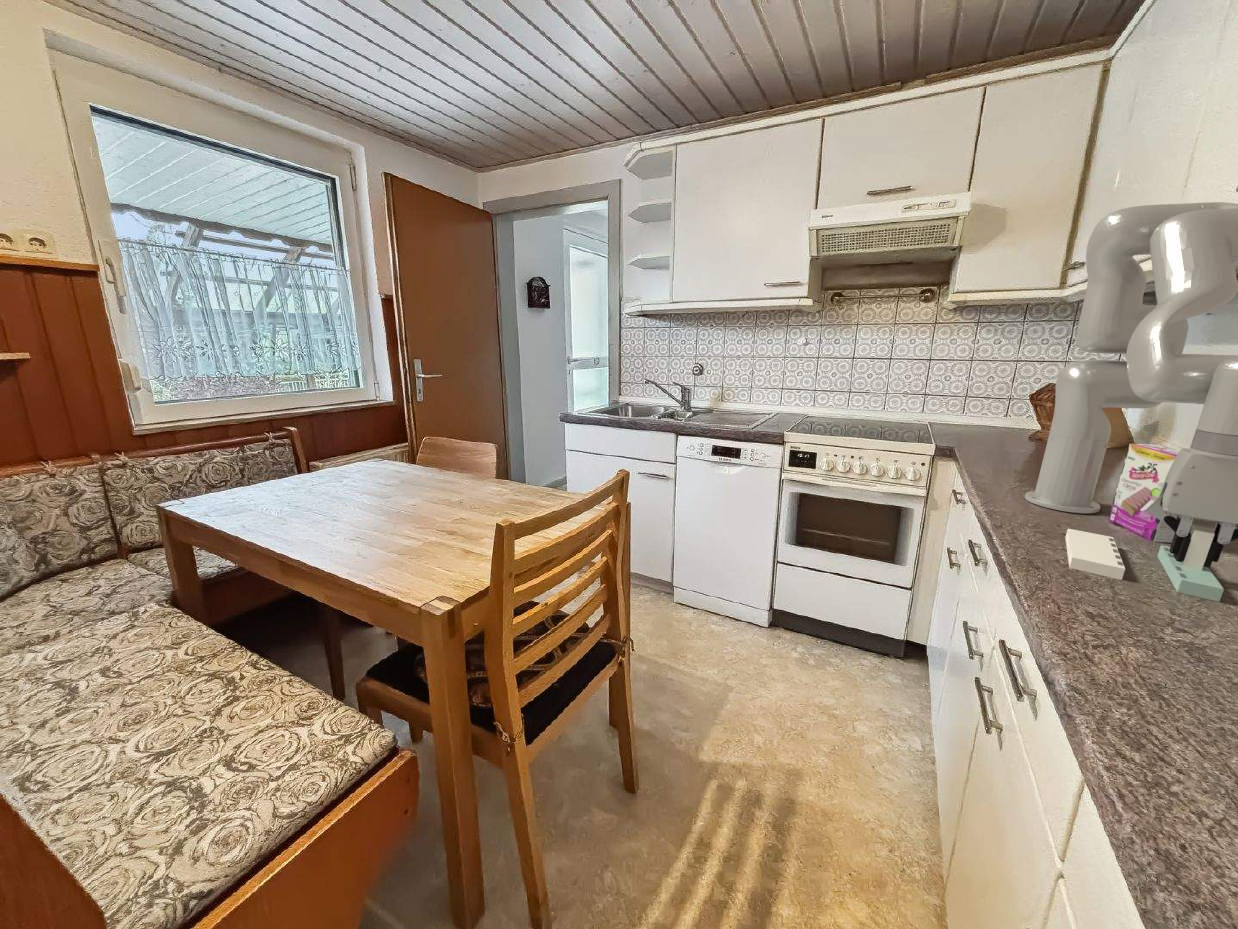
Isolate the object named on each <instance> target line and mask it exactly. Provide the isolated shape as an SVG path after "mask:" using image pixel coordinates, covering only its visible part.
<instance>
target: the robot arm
mask: <svg viewBox="0 0 1238 929" xmlns="http://www.w3.org/2000/svg"><path fill="white" fill-rule="evenodd" d="M1086 245H1087V246H1086V251H1085V252H1086V253H1085V265H1086V274H1087V275H1086V276H1087V286H1086V290H1085V294H1084V299H1083V303H1082V307H1081V312H1080V316H1079V322H1078V324H1077V325H1078V326H1077V330H1076V335H1075V342H1076V345H1077V347H1078V350H1081V351H1082V352H1086V353H1091V354H1092V353H1093V354H1114V355H1116V354H1117V355H1119V354H1120V355H1125V358H1126V360H1117V359H1116V360H1111V359H1110V360H1106V359H1105V360H1104V359H1091V360H1088V359H1087V360H1078V361H1075V362H1071V363H1070V364H1067V365H1066V366H1064V367H1063V368H1062V369H1061V370H1060V371H1059V373H1058V374H1057V377H1056V379H1055V380H1056V382H1055V396H1054V397H1055V401H1054V411H1053V416H1052V420H1051V421H1052V422H1051V425H1050V429H1049V434H1048V438H1047V442H1046V447H1045V450H1044V454H1043V459H1042V462H1041V467H1040V471H1039V475H1038V478H1037V482H1036V487H1035V490H1031V491H1027V492H1026V493H1025V495H1024V499H1025V500H1026V501H1028V502H1029V503H1031V504H1033V505H1034V504H1035V505H1036V506H1040V507H1043V508H1047V509H1051V510H1056V511H1060V512H1066V513H1074V514H1097V513H1099V512H1100V510H1101V505H1100V503H1097V502H1095V501H1094V500H1093V497H1094V494H1095V490H1096V486H1097V484H1098V480H1099V476H1100V473H1101V470H1102V466H1103V462H1104V459H1105V455H1106V452H1107V448H1108V445H1109V442H1110V437H1111V434H1112V425H1111V422H1110V420H1109V418H1108V417H1107V415H1106V413H1105V412H1104V409H1103V408H1116V409H1117V408H1121V409H1149V408H1155V407H1158V406H1159V405H1161V404H1163V403H1170V404H1172V403H1175V404H1197V405H1203V407H1202V410H1201V414H1200V416H1199V418H1198V423H1197V426H1196V429H1195V431H1194V435H1193V438H1192V440H1191V444H1190V447H1189V448H1188V447H1187V448H1181V449H1179V451H1180V452H1179V453H1178V455H1177V456H1176V458H1175V460H1174V461H1173V463H1172V465H1171V467H1170V469H1169V472H1168V474H1167V476H1166V478H1165V481H1164V483H1163V486H1162V488H1161V491H1160V493H1159V497H1158V499H1157V500H1156V501H1155V502H1154V503H1152V504H1151V505H1150V506H1149V507H1148V508H1147V509H1146V511H1147V513H1148V514H1149V515H1151V516H1153V517H1155V518H1157V519H1159V520H1162V521H1164V522H1165V523H1166V524H1167V525H1168V526H1169V527H1170V528H1171V529H1172V530H1173V531H1174V532H1175V534H1174V537H1173V540H1172V543H1170V546H1169V547H1170V550H1169V551H1170V553H1172V554H1173V556H1174V558H1175V559H1176V561H1178V562H1183V561H1184V559H1185V556H1186V553H1187V551H1188V548H1189V545H1190V542H1191V539H1190V537H1189V536H1190V533H1189V531H1190V528H1191V525H1193V522H1194V519H1195V520H1201V521H1207V522H1211V523H1212V522H1213V523H1215V525H1214V528H1213V530H1212V531H1213V532H1214V534H1215V535H1214V537H1213V540H1212V543H1211V546H1210V549H1209V551H1208V554H1207V557H1206V560H1205V563H1204V565H1203V566H1204V567H1207V568H1209V569H1210V568H1211V567H1212V563H1218V562H1219V560H1220V556H1221V554H1222V551H1223V548H1224V546H1225V545H1228V544H1230V542H1232V541H1235V540H1238V355H1237V354H1236V355H1235V354H1232V355H1230V354H1208V353H1207V354H1205V353H1204V354H1202V353H1201V354H1200V353H1199V354H1197V353H1196V354H1195V353H1183V352H1184V349H1185V344H1186V342H1187V338H1188V335H1189V334H1188V333H1189V320H1188V319H1189V318H1193V317H1196V316H1199V315H1200V316H1201V315H1203V314H1206V313H1209V312H1211V311H1214V310H1216V309H1218V308H1220V307H1222V306H1225V304H1228V303H1229V302H1230V301H1231V300H1233V299H1234V298H1235V297H1236V295H1237V294H1238V278H1237V273H1236V269H1235V268H1236V267H1235V265H1237V264H1238V203H1232V202H1223V201H1222V202H1218V201H1216V202H1215V201H1214V202H1191V203H1190V202H1189V203H1188V202H1187V203H1168V204H1165V203H1164V204H1162V203H1161V204H1147V205H1137V206H1130V207H1129V206H1128V207H1126V208H1124V207H1123V208H1120V209H1117V210H1114V211H1113V212H1110V213H1108V214H1106V215H1105V216H1104V217H1103V218H1101V219H1100V221H1099V222H1098V223H1097V224H1096V225H1095V227H1094V228H1093V230H1092V232H1091V234H1090V236H1089V239H1088V242H1087V244H1086ZM1140 255H1141V256H1145V255H1146V256H1147V255H1148V256H1149V255H1150V259H1151V266H1152V275H1153V282H1154V291H1155V297H1156V304H1154V305H1153V304H1152V305H1151V304H1150V305H1149V304H1148V305H1147V304H1144V303H1143V301H1144V300H1143V299H1144V293H1145V290H1146V287H1147V276H1146V274H1145V271H1144V270H1143V267H1142V266H1141V265H1140V263H1139V262H1138V261H1137V260H1136V259H1135V258H1134V256H1140ZM1163 510H1164V511H1166V512H1167V513H1166V512H1164V511H1163ZM1168 513H1170V514H1168ZM1171 514H1173V515H1177V517H1176V518H1175V517H1174V516H1172V515H1171Z"/></svg>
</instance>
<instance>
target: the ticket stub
mask: <svg viewBox="0 0 1238 929" xmlns="http://www.w3.org/2000/svg"><path fill="white" fill-rule="evenodd" d="M1213 531H1214V530H1212V529H1211V528H1210V527H1206V526H1200V525H1194V524H1192V525H1191V528H1190V531H1189V533H1190V536H1189V537H1190V539H1191V542H1190V545H1189V548H1188V551H1187V553H1186V556H1185V559H1184V561H1183V562H1178V561H1176V559H1175V558H1174V556H1173V554H1172V553H1170V551H1169V550H1170V546H1166V545H1163V544H1162V545H1160V547H1159V550H1158V553H1157V558H1158V560H1159V562H1160V563H1161V565H1162V567H1163V569H1164V570H1165V572H1166V574H1167V576H1168V578H1169V580H1170V582H1171V583H1172V585H1173V587H1174V589H1175V591H1176V592H1177V593H1180V594H1182V595H1183V594H1184V595H1187V596H1191V597H1197V598H1200V599H1204V600H1209V601H1214V602H1218V603H1219V602H1220V601H1221V599H1222V595H1223V593H1224V587H1223V586H1222V584H1221V583H1220V582H1219V581H1218V579H1217V577H1216V576H1215V575H1214V574H1213V573H1212V571H1211V570H1210V568H1207V567H1204V566H1203V565H1204V563H1205V560H1206V557H1207V554H1208V551H1209V549H1210V546H1211V543H1212V540H1213V537H1214V535H1215V534H1214V532H1213Z"/></svg>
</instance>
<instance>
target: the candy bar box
mask: <svg viewBox="0 0 1238 929" xmlns="http://www.w3.org/2000/svg"><path fill="white" fill-rule="evenodd" d="M1179 452H1180V449H1175V448H1171V447H1167V446H1165V445H1161V444H1151V443H1137V442H1136V443H1129V445H1128V449H1127V452H1126V455H1125V459H1124V462H1123V466H1122V469H1121V473H1120V476H1119V480H1118V484H1117V486H1116V490H1115V494H1114V497H1113V501H1112V504H1111V508H1110V512H1109V513H1108V514H1109V515H1108V517H1107V521H1108V522H1110V523H1112V524H1114V525H1116V526H1118V527H1119V528H1120V527H1121V528H1122V529H1125V530H1126V531H1128V532H1131V533H1133V534H1134V535H1137V536H1139V537H1141V538H1143V539H1145V540H1147V541H1150V542H1152V543H1162V544H1163V543H1164V544H1171V543H1172V540H1173V537H1174V534H1175V532H1174V531H1173V530H1172V529H1171V528H1170V527H1169V526H1168V525H1167V524H1166V523H1165V522H1164V521H1162V520H1159V519H1157V518H1155V517H1153V516H1151V515H1149V514H1148V513H1147V511H1146V509H1147V508H1148V507H1149V506H1150V505H1151V504H1152V503H1154V502H1155V501H1156V500H1157V499H1158V497H1159V493H1160V491H1161V488H1162V486H1163V483H1164V481H1165V478H1166V476H1167V474H1168V472H1169V469H1170V467H1171V465H1172V463H1173V461H1174V460H1175V458H1176V456H1177V455H1178V453H1179ZM1163 511H1164V510H1163ZM1164 512H1166V511H1164ZM1166 513H1167V512H1166ZM1168 514H1170V513H1168ZM1171 515H1172V516H1174V517H1175V518H1176V517H1177V515H1173V514H1171Z"/></svg>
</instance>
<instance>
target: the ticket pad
mask: <svg viewBox="0 0 1238 929" xmlns="http://www.w3.org/2000/svg"><path fill="white" fill-rule="evenodd" d="M1065 534H1066V535H1065V545H1066V552H1067V554H1066V555H1067V560H1068V566H1069V569H1072V570H1076V571H1081V572H1085V573H1089V574H1094V575H1095V574H1096V575H1100V576H1102V577H1103V576H1104V577H1107V578H1110V579H1111V578H1113V579H1116V580H1121V581H1122V580H1123V577H1124V574H1125V571H1126V567H1125V564H1124V562H1123V559H1122V557H1121V554H1120V552H1119V549H1118V546H1117V544H1116V541H1115V538H1114V537H1113V536H1108V535H1103V534H1100V533H1095V532H1094V533H1093V532H1087V531H1083V530H1079V529H1072V528H1067V531H1066V532H1065Z"/></svg>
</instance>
